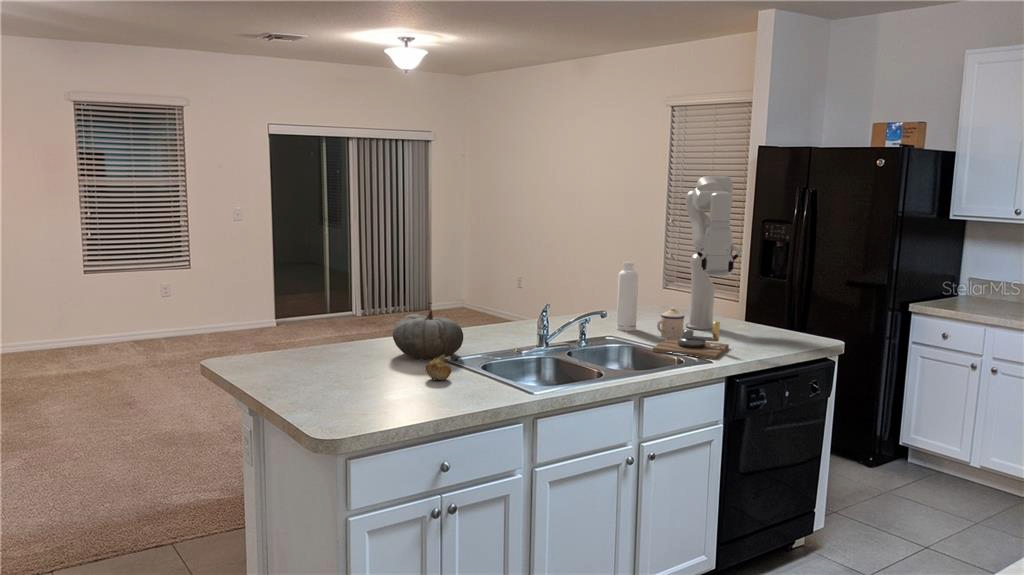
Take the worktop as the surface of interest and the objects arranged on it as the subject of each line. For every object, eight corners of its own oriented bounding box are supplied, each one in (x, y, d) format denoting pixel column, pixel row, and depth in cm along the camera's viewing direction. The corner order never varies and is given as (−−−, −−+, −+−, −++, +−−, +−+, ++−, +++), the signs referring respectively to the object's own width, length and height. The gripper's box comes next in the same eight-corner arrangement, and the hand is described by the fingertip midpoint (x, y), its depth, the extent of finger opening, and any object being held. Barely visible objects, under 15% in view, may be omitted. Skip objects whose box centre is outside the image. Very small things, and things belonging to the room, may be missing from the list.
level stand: (668, 341, 308) (668, 336, 308) (728, 348, 298) (728, 343, 297) (652, 351, 291) (653, 346, 290) (715, 359, 280) (716, 354, 280)
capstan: (676, 346, 291) (678, 322, 289) (678, 340, 300) (679, 317, 299) (718, 349, 287) (719, 324, 286) (718, 343, 296) (719, 319, 295)
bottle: (616, 326, 334) (618, 260, 330) (635, 327, 333) (638, 261, 329) (616, 330, 326) (618, 263, 322) (636, 331, 325) (638, 263, 321)
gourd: (406, 361, 261) (408, 308, 261) (379, 357, 282) (380, 308, 283) (474, 360, 273) (475, 310, 274) (443, 357, 295) (444, 310, 296)
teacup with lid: (672, 333, 322) (674, 305, 320) (688, 338, 314) (689, 309, 313) (649, 336, 316) (650, 307, 314) (664, 341, 308) (666, 311, 307)
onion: (427, 376, 253) (427, 351, 252) (452, 376, 253) (452, 352, 252) (424, 382, 246) (423, 357, 244) (449, 383, 245) (449, 358, 244)
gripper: (694, 225, 299) (691, 270, 301) (740, 227, 291) (738, 273, 294) (699, 223, 305) (697, 267, 308) (745, 226, 297) (742, 271, 300)
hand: (717, 270), depth 301 cm, fingers open, 9 cm apart
